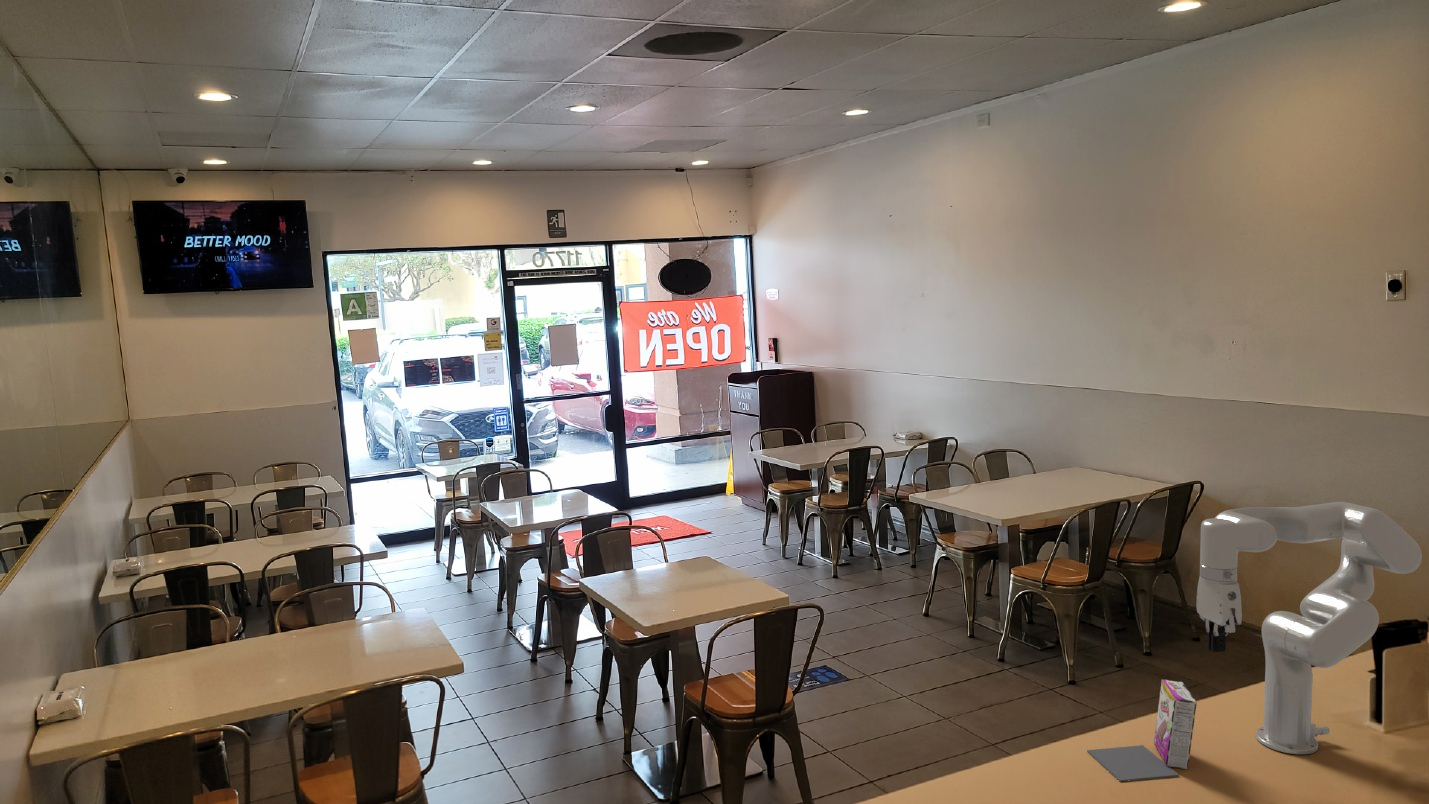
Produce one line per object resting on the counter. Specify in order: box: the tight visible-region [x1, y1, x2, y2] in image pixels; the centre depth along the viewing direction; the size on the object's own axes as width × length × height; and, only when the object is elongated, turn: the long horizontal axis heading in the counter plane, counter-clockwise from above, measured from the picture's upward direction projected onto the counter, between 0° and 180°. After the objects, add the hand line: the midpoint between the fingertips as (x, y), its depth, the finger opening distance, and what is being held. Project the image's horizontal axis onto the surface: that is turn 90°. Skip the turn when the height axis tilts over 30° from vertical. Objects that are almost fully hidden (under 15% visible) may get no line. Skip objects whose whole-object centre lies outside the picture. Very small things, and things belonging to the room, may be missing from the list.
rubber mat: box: [1086, 744, 1180, 783], centre depth 210 cm, size 14×14×1 cm
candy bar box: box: [1153, 679, 1198, 770], centre depth 211 cm, size 11×5×16 cm, turn 168°
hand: (1216, 650), depth 211 cm, fingers closed
